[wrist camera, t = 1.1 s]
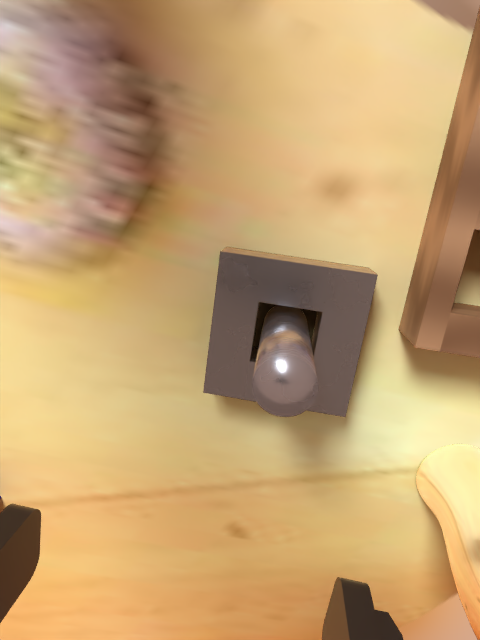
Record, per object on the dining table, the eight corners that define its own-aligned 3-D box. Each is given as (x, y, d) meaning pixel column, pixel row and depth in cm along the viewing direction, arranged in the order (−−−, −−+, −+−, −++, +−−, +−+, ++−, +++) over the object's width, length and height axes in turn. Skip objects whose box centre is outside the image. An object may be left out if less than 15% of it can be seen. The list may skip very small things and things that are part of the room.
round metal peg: (267, 300, 31) (256, 350, 20) (310, 307, 30) (323, 361, 20) (260, 341, 31) (247, 410, 21) (303, 348, 31) (311, 422, 21)
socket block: (226, 246, 30) (220, 251, 27) (368, 267, 29) (377, 274, 26) (210, 375, 33) (203, 392, 30) (340, 397, 32) (345, 416, 29)
